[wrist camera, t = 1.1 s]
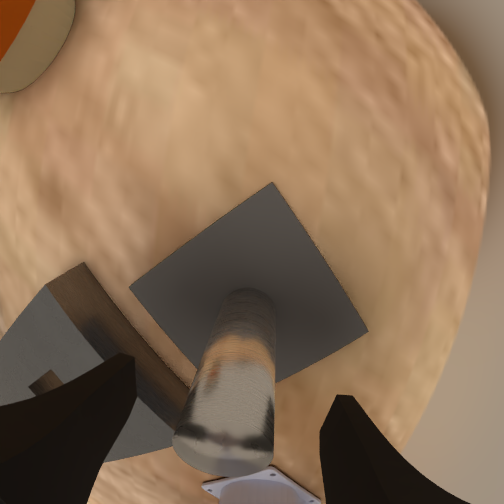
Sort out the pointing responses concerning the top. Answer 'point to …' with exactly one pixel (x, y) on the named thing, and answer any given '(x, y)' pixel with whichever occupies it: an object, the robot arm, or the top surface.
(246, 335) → the steel pin
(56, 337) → the block
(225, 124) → the top surface
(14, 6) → the reusable coffee cup
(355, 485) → the robot arm
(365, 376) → the top surface
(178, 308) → the rubber mat
